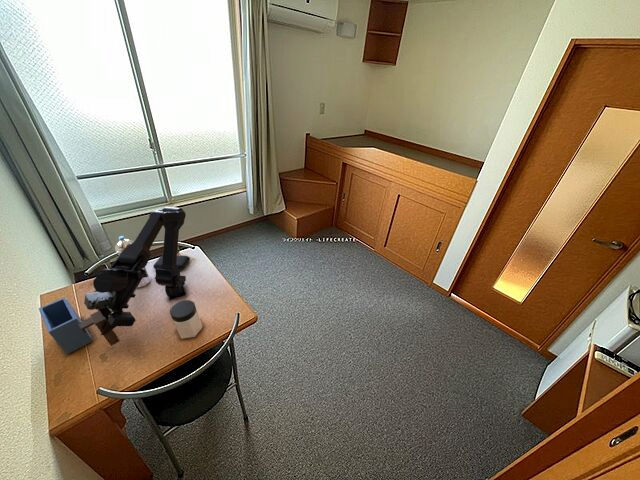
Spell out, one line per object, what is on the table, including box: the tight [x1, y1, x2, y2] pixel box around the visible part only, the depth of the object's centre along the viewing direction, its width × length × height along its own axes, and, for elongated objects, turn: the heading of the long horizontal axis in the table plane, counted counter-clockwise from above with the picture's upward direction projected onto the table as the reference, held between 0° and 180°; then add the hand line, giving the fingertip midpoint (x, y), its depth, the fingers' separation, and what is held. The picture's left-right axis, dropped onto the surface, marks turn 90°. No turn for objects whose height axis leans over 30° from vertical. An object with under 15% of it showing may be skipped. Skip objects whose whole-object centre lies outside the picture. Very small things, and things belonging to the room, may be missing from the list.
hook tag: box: [78, 310, 121, 347], centre depth 82 cm, size 6×5×12 cm
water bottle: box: [114, 235, 151, 288], centre depth 108 cm, size 7×7×25 cm
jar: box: [169, 299, 203, 340], centre depth 93 cm, size 9×8×12 cm
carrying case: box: [152, 254, 191, 271], centre depth 125 cm, size 11×3×15 cm
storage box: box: [38, 296, 94, 355], centre depth 88 cm, size 7×14×12 cm, turn 51°
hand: (99, 330), depth 82 cm, fingers closed on hook tag, 5 cm apart
